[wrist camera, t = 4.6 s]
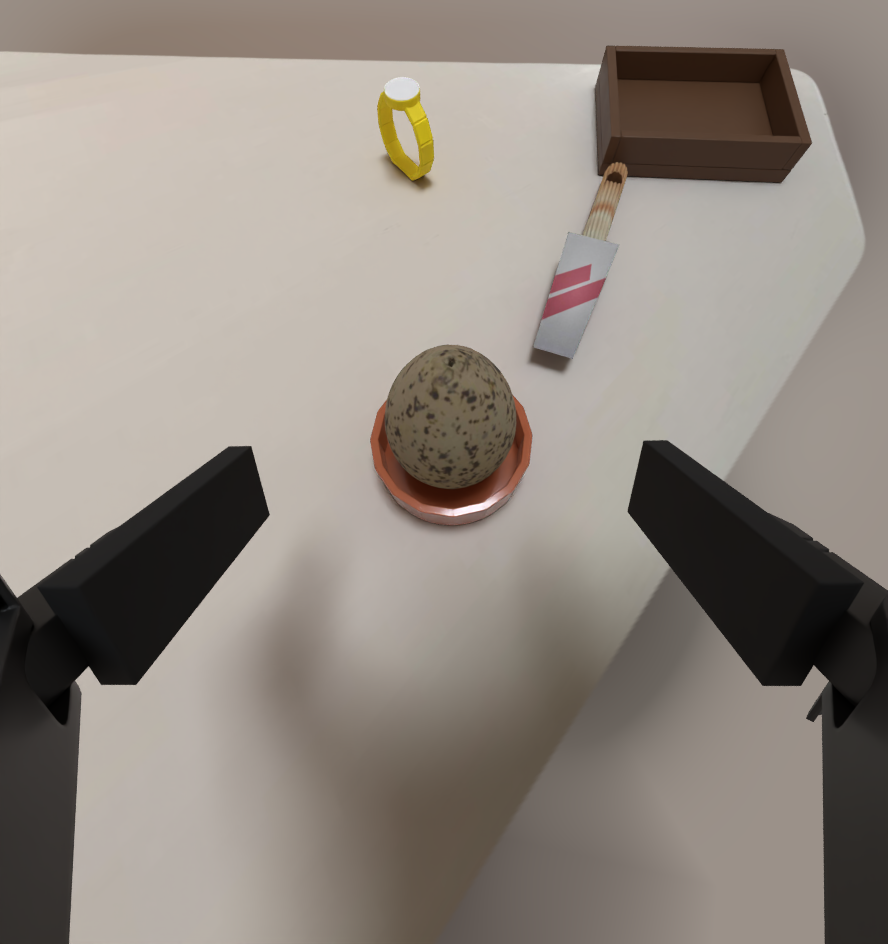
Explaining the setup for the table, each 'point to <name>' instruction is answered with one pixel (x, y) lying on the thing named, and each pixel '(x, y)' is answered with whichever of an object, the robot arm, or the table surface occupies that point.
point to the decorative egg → (450, 417)
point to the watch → (407, 98)
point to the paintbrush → (581, 271)
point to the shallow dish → (452, 502)
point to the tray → (699, 113)
